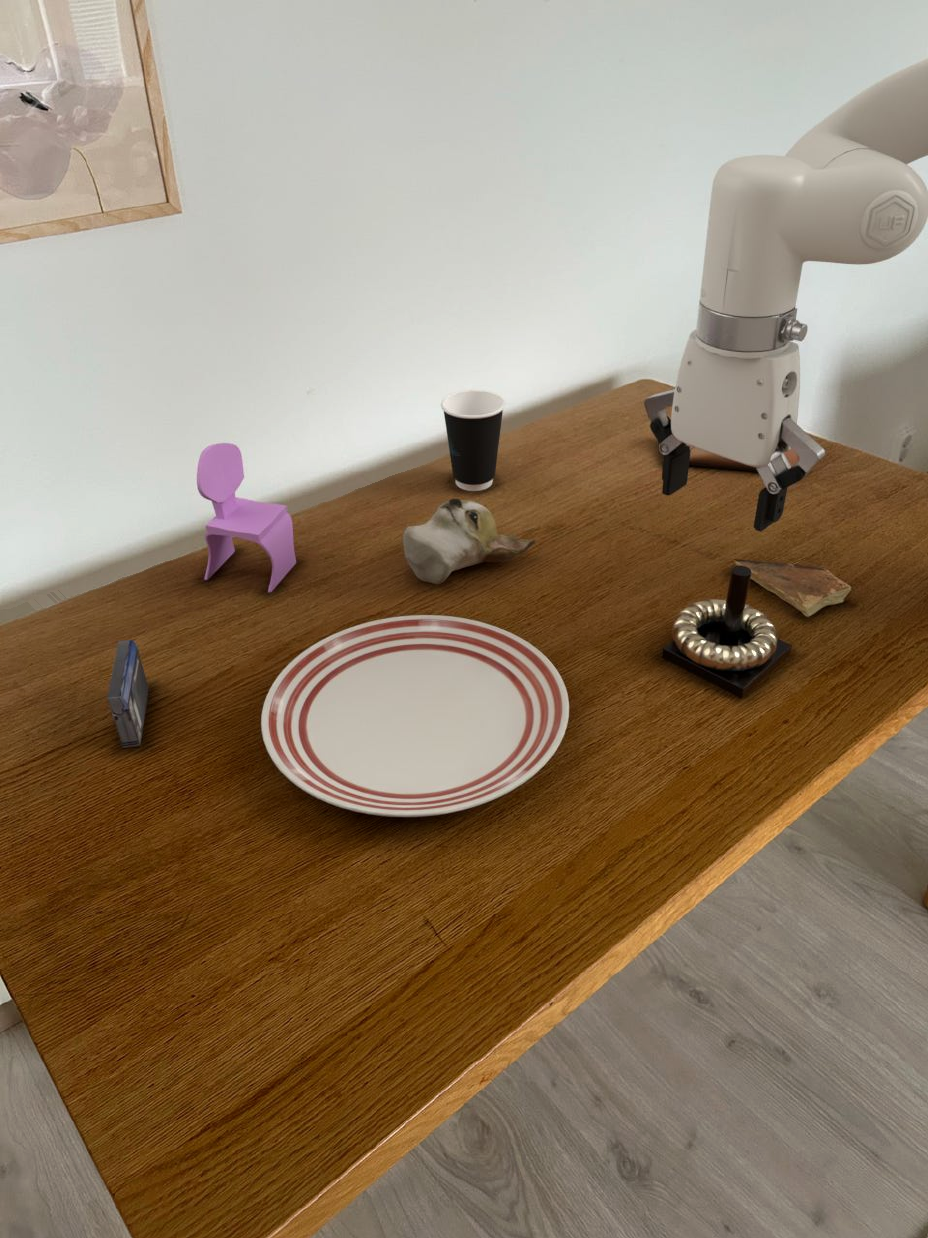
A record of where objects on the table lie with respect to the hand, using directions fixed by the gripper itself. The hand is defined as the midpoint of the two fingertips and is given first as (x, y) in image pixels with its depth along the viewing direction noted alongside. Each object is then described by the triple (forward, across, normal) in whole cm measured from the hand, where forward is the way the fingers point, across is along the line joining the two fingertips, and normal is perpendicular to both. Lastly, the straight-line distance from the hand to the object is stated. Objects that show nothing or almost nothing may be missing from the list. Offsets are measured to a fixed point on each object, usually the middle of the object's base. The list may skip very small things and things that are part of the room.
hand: (718, 506), depth 90 cm
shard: (+16, -3, -13) cm, 21 cm away
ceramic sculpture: (+15, +28, +7) cm, 32 cm away
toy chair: (+15, +44, +24) cm, 52 cm away
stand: (+16, -3, +1) cm, 16 cm away
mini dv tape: (+15, +32, +46) cm, 57 cm away
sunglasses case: (+16, +19, -36) cm, 44 cm away
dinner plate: (+15, +12, +29) cm, 34 cm away
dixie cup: (+15, +40, -8) cm, 43 cm away
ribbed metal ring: (+13, -3, 0) cm, 13 cm away
